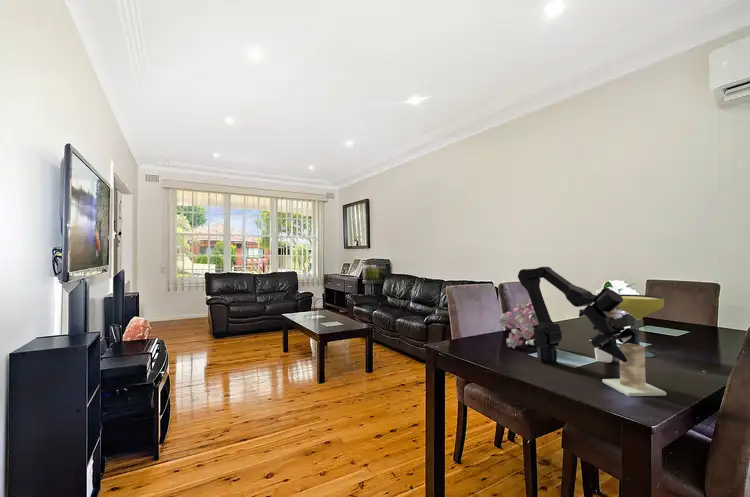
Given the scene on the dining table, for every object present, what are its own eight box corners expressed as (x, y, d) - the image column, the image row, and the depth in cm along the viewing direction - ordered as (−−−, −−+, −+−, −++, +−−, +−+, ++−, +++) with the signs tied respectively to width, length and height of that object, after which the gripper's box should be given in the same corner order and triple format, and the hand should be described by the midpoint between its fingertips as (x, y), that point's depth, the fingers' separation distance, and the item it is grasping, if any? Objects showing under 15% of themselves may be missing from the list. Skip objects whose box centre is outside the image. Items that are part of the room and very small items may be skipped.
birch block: (619, 384, 116) (619, 344, 117) (628, 381, 119) (628, 342, 119) (636, 389, 112) (635, 348, 112) (645, 386, 114) (644, 346, 114)
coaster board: (628, 396, 109) (628, 392, 109) (602, 382, 121) (602, 379, 121) (666, 395, 109) (666, 392, 109) (636, 381, 121) (636, 378, 121)
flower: (493, 335, 185) (492, 295, 175) (538, 331, 182) (539, 290, 172) (503, 362, 167) (502, 319, 157) (553, 358, 164) (555, 314, 154)
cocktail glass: (649, 362, 142) (647, 300, 143) (604, 351, 159) (603, 295, 159) (674, 356, 149) (673, 297, 150) (629, 346, 166) (628, 293, 166)
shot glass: (617, 363, 141) (616, 345, 142) (598, 362, 143) (597, 345, 143) (609, 358, 148) (608, 341, 148) (591, 357, 150) (591, 341, 150)
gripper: (599, 308, 116) (636, 350, 106) (633, 304, 124) (671, 343, 113) (577, 327, 123) (610, 368, 113) (610, 322, 131) (644, 360, 120)
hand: (634, 359), depth 115 cm, fingers open, 9 cm apart
